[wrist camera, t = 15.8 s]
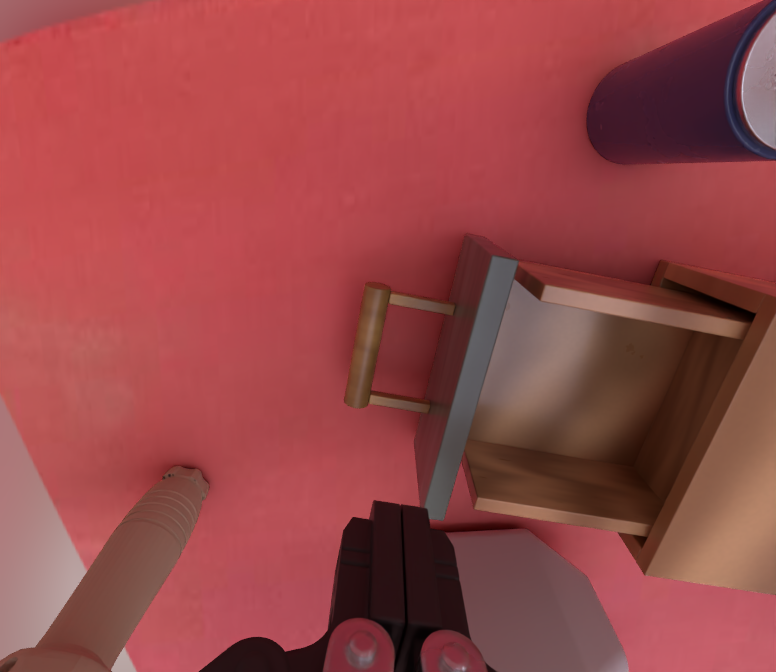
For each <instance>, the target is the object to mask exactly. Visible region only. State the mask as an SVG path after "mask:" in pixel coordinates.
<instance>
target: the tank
mask: <svg viewBox="0 0 776 672" xmlns="http://www.w3.org/2000/svg"><path fill="white" fill-rule="evenodd" d="M446 535H447V536H448V538H449V540H450V541H451V543H452V544H453V546H454V550H455V555H456V561H457V567H458V572H459V577H460V578H459V581H460V583H461V588H462V594H463V599H464V605H465V611H466V616H467V622H468V627H469V633H470V637H471V640H472V642H473V643H474V644H475V645H476V646H477V648H478V649H479V651H480V652H481V654H482V656H483V658H484V661H485V662H486V663H487V664H488V665H489V666H490V667H491V668H493V669H494V670H496V671H497V672H629V670H628V663H627V659H626V655H625V652H624V650H623V647H622V645H621V643H620V641H619V639H618V637H617V635H616V633H615V631H614V629H613V627H612V625H611V623H610V621H609V619H608V617H607V615H606V613H605V611H604V609H603V607H602V605H601V603H600V601H599V599H598V597H597V595H596V593H595V591H594V589H593V587H592V585H591V583H590V581H589V579H588V577H587V576H586V575H585V574H583V573H582V572H581V571H580V570H578V569H577V568H576V567H575V566H573V565H572V564H571V563H569V562H568V561H567V560H566V559H564V558H563V557H562V556H561V555H559V554H558V553H557V552H556V551H554V550H553V549H552V548H550V547H549V546H548V545H547V544H545V543H544V542H543V541H542V540H540V539H539V538H538V537H536V536H535V535H534V534H533V533H531V532H530V531H529V530H528V529H526V528H522V529H504V530H486V531H468V532H450V533H446Z"/></svg>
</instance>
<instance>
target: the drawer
mask: <svg viewBox="0 0 776 672" xmlns="http://www.w3.org/2000/svg"><path fill="white" fill-rule="evenodd" d="M388 302H389V304H392V305H398V306H403V307H409V308H414V309H419V310H425V311H430V312H435V313H441V314H445V317H444V321H443V325H442V329H441V333H440V338H439V342H438V346H437V350H436V354H435V358H434V362H433V366H432V370H431V374H430V378H429V382H428V386H427V390H426V394H425V398H424V400H423V399H418V398H412V397H406V396H400V395H394V394H389V393H383V392H377V391H371V387H372V382H373V377H374V372H375V367H376V362H377V357H378V352H379V347H380V342H381V337H382V332H383V327H384V322H385V317H386V312H387V307H388ZM755 316H756V315H755V314H752V313H750V312H747V311H745V310H742V309H740V308H737V307H735V306H732V305H729V304H727V303H724V302H722V301H719V300H717V299H714V298H711V297H707V296H702V295H697V294H692V293H686V292H681V291H676V290H671V289H666V288H661V287H656V286H651V285H646V284H641V283H635V282H630V281H625V280H620V279H615V278H610V277H605V276H600V275H595V274H590V273H584V272H579V271H574V270H569V269H564V268H559V267H554V266H549V265H544V264H538V263H533V262H528V261H523V260H518V259H516V258H515V257H513V256H512V255H510V254H509V253H507V252H506V251H505V250H503V249H502V248H500V247H499V246H497V245H496V244H494V243H493V242H491V241H490V240H488V239H487V238H485V237H482V236H477V235H472V234H465V236H464V240H463V244H462V248H461V252H460V256H459V260H458V264H457V268H456V272H455V277H454V281H453V285H452V289H451V293H450V297H449V301H443V300H438V299H432V298H427V297H422V296H416V295H411V294H406V293H400V292H395V291H391V288H390V287H389V286H387V285H385V284H381V283H376V282H367V283H365V286H364V291H363V297H362V302H361V308H360V314H359V319H358V325H357V330H356V336H355V341H354V347H353V353H352V358H351V364H350V369H349V375H348V380H347V386H346V391H345V397H344V402H345V404H346V405H348V406H350V407H353V408H365V407H366V406H367V405H368V402H369V404H373V405H379V406H385V407H391V408H397V409H403V410H408V411H414V412H420V413H421V415H420V419H419V423H418V427H417V431H416V435H415V439H414V449H415V459H416V469H417V479H418V490H419V500H420V507H422V508H427V509H428V514H429V519H434V520H440V521H443V520H444V518H445V514H446V511H447V507H448V504H449V500H450V497H451V494H452V490H453V487H454V483H455V480H456V476H457V473H458V470H459V466H460V463H461V461H462V465H463V468H464V472H465V476H466V480H467V484H468V488H469V492H470V496H471V500H472V503H473V507H474V509H475V510H480V511H487V512H493V513H499V514H506V515H512V516H518V517H525V518H531V519H537V520H544V521H550V522H556V523H563V524H569V525H576V526H582V527H588V528H595V529H601V530H607V531H614V532H620V533H626V534H633V535H639V536H645V537H648V536H649V534H650V532H651V530H652V528H653V525H654V523H655V521H656V519H657V517H658V515H659V513H660V511H661V509H662V507H663V505H664V503H665V501H666V499H667V497H668V495H669V493H670V491H671V489H672V486H673V484H674V482H675V480H676V478H677V476H678V474H679V472H680V470H681V468H682V466H683V464H684V462H685V460H686V458H687V456H688V454H689V452H690V449H691V447H692V445H693V443H694V441H695V439H696V437H697V435H698V433H699V431H700V429H701V427H702V425H703V423H704V421H705V419H706V417H707V415H708V412H709V410H710V408H711V406H712V404H713V402H714V400H715V398H716V396H717V394H718V392H719V390H720V388H721V386H722V384H723V382H724V380H725V378H726V375H727V373H728V371H729V369H730V367H731V365H732V363H733V361H734V359H735V357H736V355H737V353H738V351H739V349H740V347H741V345H742V343H743V341H744V338H745V336H746V334H747V332H748V330H749V328H750V326H751V324H752V322H753V320H754V318H755Z"/></svg>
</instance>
